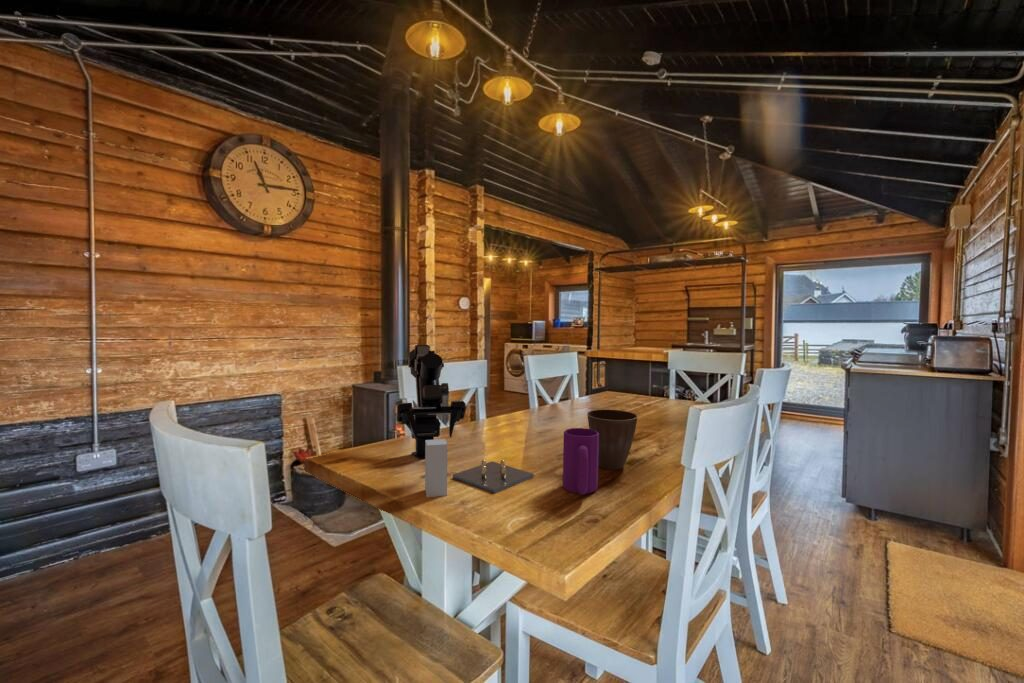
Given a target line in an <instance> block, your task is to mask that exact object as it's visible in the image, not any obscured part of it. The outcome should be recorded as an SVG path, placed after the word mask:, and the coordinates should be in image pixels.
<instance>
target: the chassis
mask: <svg viewBox="0 0 1024 683" xmlns="http://www.w3.org/2000/svg"><path fill="white" fill-rule="evenodd" d="M532 478H534V473H532V472H529V471H526V470H523V469H519V468H516V467H513V466H509V465H506V461H505V460H504V459H501V460H500V462H496V461H493V460H492V461H489V462H487V461H486V459H482V460H481V464H480V465H477V466H474V467H471V468H469V469H465V470H463V471H459V472H457V473H454V474H452V479H453V480H456V481H460V482H462V483H464V484H468V485H470V486H472V487H475V488H478V489H482V490H484V491H487V492H490V493H492V494H497V493H499V492H501V491H504V490H506V489H508V488H511V487H514V486H516V485H518V484H521V483H523V482H525V481H528V480H530V479H532Z"/></svg>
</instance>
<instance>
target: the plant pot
mask: <svg viewBox="0 0 1024 683" xmlns="http://www.w3.org/2000/svg"><path fill="white" fill-rule="evenodd" d="M586 414H587V421H588V427H589V428H588V429H591V430H595V431H597V432H598V433H599V454H598V467H600V468H602V469H604V470H611V471H615V470H616V471H617V470H622V469H623V468H624V466H625V464H626V462H627V460H628V457H629V454H630V451H631V449H632V444H633V442H634V437H635V433H636V428H637V422H638V417H639V416H638V414H636V413H633V412H630V411H626V410H620V409H619V410H618V409H594V410H590V411H587V413H586Z"/></svg>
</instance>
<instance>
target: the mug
mask: <svg viewBox="0 0 1024 683" xmlns="http://www.w3.org/2000/svg"><path fill="white" fill-rule="evenodd" d="M562 450H563V453H562V456H563V457H562V486H563V488H564V489H565V490H566V491H568V492H570V493H573V494H579V495H587V494H592V493H593V492H597V489H598V485H599V464H598V454H599V433H598V432H597V431H595V430H591V429H589V428H583V427H573V428H567V429H565V430H564V431H563V448H562Z"/></svg>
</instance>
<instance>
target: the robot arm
mask: <svg viewBox="0 0 1024 683" xmlns="http://www.w3.org/2000/svg"><path fill="white" fill-rule="evenodd" d="M407 360H408V368H409V370H410V375H412V376H413V378H415V387H416V388H415V389H416V390H415V391H416V402H417V403H416V405H417V406H416V407H415V406H413V402H399V403H397V405H396V421H397V422H398V423H401V424H402V425H405V426H407V428H408V429H409V431H410V432H411V433H410V435H411V439H414V440H415V451H412V452H411V455H413V456H414V457H416V458H418V459H425V440H435V437H436V438H439V437H440V435H441V433H440V432H441V424H442V422H440V419H439V417H437V416H438V415H449V421H448V423H449V424H448V425H449V426H448V429H449V430H448V431H449V432H448V434H449V438H452V436H453V431H454V428H455V425H456V424H457V422H460V420H463V419H465V414H466V410H467V404H466V401H464V400H452V401H451V402H450V406H449V405H448V406H445V405H444V406H442V404H443V396H444V397H446V396H448V395H449V393H450V392H449V389H450V388H449V383H448V382H446V383H445V382H442V383H440V376H441V375H442V374H441V373H442V370H443V368H444V367H445V363H444V362H443V358H442V357H441V355H439V354H437V353H435V350H431V346H430V345H428V344H416V345H414V348H413V349H412V350H411V351H410V352H408V358H407Z"/></svg>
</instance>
